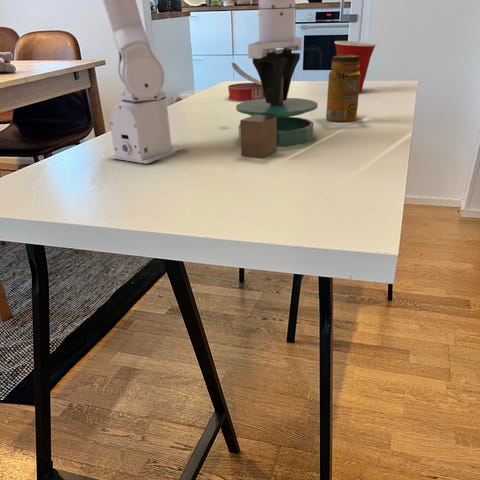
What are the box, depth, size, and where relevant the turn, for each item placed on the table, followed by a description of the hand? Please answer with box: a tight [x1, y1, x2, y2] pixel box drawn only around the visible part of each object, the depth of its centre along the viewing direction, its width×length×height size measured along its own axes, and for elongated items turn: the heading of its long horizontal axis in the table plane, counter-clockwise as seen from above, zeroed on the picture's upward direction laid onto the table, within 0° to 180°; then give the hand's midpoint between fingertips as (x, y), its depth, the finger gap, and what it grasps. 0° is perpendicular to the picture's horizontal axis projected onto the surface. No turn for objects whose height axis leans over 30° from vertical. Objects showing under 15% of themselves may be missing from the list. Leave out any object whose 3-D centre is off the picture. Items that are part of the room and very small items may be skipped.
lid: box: [235, 75, 318, 117], centre depth 83 cm, size 14×14×6 cm
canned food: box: [227, 62, 265, 102], centre depth 126 cm, size 11×10×10 cm
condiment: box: [325, 54, 360, 124], centre depth 94 cm, size 7×8×12 cm
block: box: [239, 115, 278, 160], centre depth 76 cm, size 4×4×6 cm
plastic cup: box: [334, 40, 378, 94], centre depth 126 cm, size 11×11×12 cm
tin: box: [238, 116, 315, 148], centre depth 86 cm, size 13×13×3 cm
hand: (276, 101), depth 83 cm, fingers closed on lid, 2 cm apart
